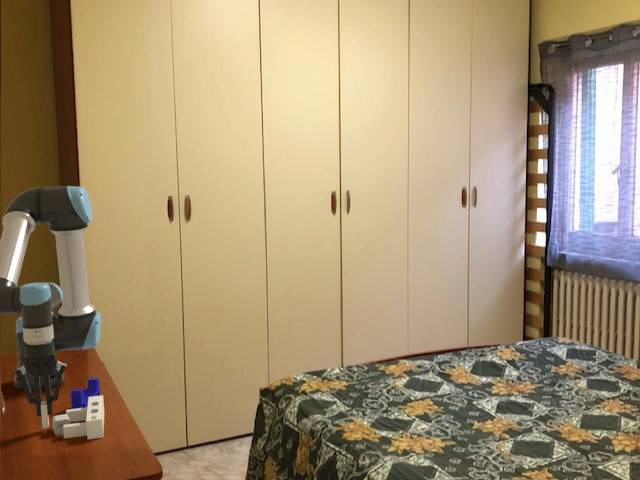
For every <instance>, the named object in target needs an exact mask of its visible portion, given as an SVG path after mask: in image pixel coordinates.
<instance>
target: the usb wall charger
mask: <svg viewBox="0 0 640 480" xmlns="http://www.w3.org/2000/svg"><path fill="white" fill-rule="evenodd" d="M66 424H71V422H70V420H69V417H68V415H67V414H66V413H64V414H58V415H54V416H53V417H52V426H53V427H52V428H53V433H54V435H55V436H61V435H64V433H63V425H66Z"/></svg>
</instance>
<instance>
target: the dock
mask: <svg viewBox="0 0 640 480" xmlns="http://www.w3.org/2000/svg"><path fill="white" fill-rule="evenodd" d="M100 395H101V394H100ZM65 411H66V412H65V414H67V415H68V417H69V420H70V424H66V425H63V433H64V434H63V439H71V438H78V437H85V436H86V438H87V440H93V439H100V438H101V439H103V438H104V434H105V433H104V429H105V428H104V427H105V404H104V395H103V394H102V395H101V396H93V397H89V398H88V407H85V408H77V409H72V408H70V409H66V410H65ZM81 421H84V422H81ZM73 422H75V423H73Z"/></svg>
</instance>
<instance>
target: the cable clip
mask: <svg viewBox="0 0 640 480" xmlns="http://www.w3.org/2000/svg"><path fill="white" fill-rule="evenodd" d="M93 396H101V381H100V378H93V377H92V378H91V377H90V378H89V379H87V387H85V388H83V389H72V390H71V391H70V397H71V409H77V408H85V407H88V398H89V397H93Z"/></svg>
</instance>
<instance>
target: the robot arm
mask: <svg viewBox="0 0 640 480" xmlns="http://www.w3.org/2000/svg"><path fill="white" fill-rule="evenodd" d="M92 212H93V207H92V203H91V199H90V196H89V194H88V191H87V190H86V189H85V188H84V187H82V186H74V185H73V186H71V185H65V186H61V185H59V186H47V187H46V186H45V187H43V186H42V187H39V186H38V187H32V188H29V189H26V190H24V191H23V192H21V193H19V194H18V195H17V196H16V197H14V198H13V200H12V201H10V203H9V204H8V206H7V207H6V209H5V210H4V214H3V216H2V221H1V222H2V226H3V228H2V232H1V235H0V236H1V237H0V315H10V314H11V315H13V314H21V316H20V317H18V318H17V319H16V321H15V336H16V346H17V356H18V357H17V359H18V360H17V361H18V364H17V366H16V371H15V374H14V378H13V379H14V380H13V381H14V383H13V384H14V387H15V388H17V389H20V390H24V393H25V396H26V398H27V402H28V403H29V404H34V405H35V406H36V415H37V417H41V429H48V428H49V427H50V420H49V415H52V414H53V402H55V401H58V399H59V396H60V390H61V389H60V388H61V386H62V385H61V383H62V382H63V381H64V372H65V371H66V369H67V363H65V362H63V363H62V362H61V361H59V359H58V357H57V351H58V352H59V351H60V352H61V351H71V350H72V351H73V350H74V351H76V350H89V349H95V348H96V347H97V346H98V345H99V342H100V340H101V339H100V338H101V335H102V334H101V333H102V324H103V323H102V314H101V313H100V312H98V311H97V312H96V306H94V305H93V304H92V303H91V300H90V290H89V288H90V287H89V281H88V280H89V279H88V269H87V268H88V267H87V257H86V248H85V246H86V245H85V237H84V233H85V231H86V230H87V229H88V225H89V223H91V222H92V220H93V213H92ZM37 225H48V227H49V228H48V229H49V231H50V232H51V233H52V234H53V235H54V236H55V247H56V254H57V255H56V257H57V267H58V275H59V285H60V286H59V285H57V284H56V283H54V282H31V283H26V284H23V285H20V286H19V285H18V281H19V279H20V274H21V271H22V267H23V262H24V259H25V255H26V250H27V247H28V243H29V239H30V235H31V233H32V232H33V231H35V229H36V226H37ZM61 304H62V306H61V307H60V308H59V310H58V311H57V314H58V315H57V314H56V315H55V313H54V312H53V311H55V309H57V308H58V307H59V306H60V305H61ZM53 386H55V387H54V392H53V395H52V387H53ZM42 389H44V391H45V393H44V394H45V401H42ZM32 390H34V393H33V391H32ZM34 395H35V396H34Z"/></svg>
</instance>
